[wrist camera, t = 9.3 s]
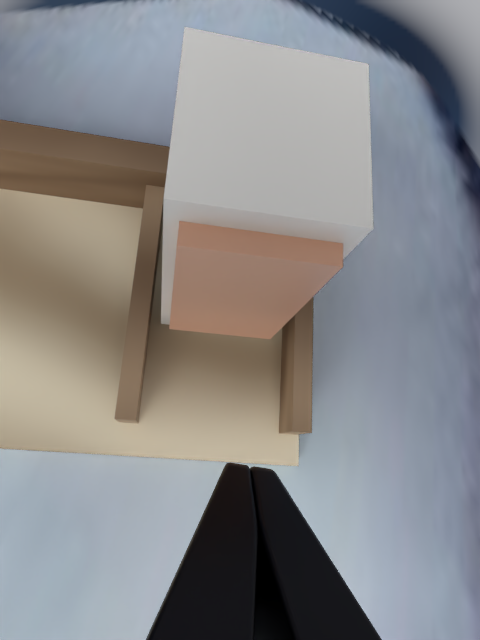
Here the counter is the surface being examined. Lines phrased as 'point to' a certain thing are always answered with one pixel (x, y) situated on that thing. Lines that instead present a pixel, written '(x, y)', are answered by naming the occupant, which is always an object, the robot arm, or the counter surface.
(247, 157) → the white tall block
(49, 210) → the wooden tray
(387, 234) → the counter surface
